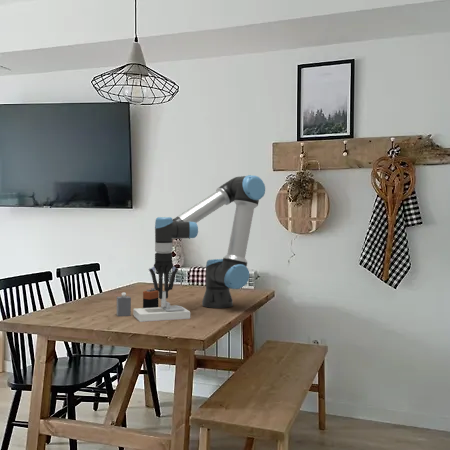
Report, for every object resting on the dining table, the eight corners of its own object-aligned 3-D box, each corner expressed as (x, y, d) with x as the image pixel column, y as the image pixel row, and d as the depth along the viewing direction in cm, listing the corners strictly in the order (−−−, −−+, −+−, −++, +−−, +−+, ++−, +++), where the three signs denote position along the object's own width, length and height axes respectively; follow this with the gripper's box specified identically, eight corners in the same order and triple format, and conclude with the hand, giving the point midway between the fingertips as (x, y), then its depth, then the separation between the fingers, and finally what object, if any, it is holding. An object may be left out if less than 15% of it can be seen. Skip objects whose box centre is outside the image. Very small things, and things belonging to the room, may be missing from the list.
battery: (158, 309, 244) (159, 288, 243) (150, 311, 238) (150, 290, 237) (151, 308, 246) (151, 287, 246) (142, 310, 240) (142, 289, 240)
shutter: (178, 306, 234) (178, 299, 234) (184, 310, 225) (184, 303, 225) (160, 307, 231) (161, 300, 231) (166, 311, 222) (166, 304, 222)
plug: (128, 313, 232) (129, 291, 232) (130, 315, 228) (130, 293, 228) (116, 314, 230) (116, 292, 230) (118, 316, 226) (118, 293, 226)
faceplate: (181, 312, 237) (181, 306, 237) (190, 318, 224) (190, 311, 223) (133, 315, 229) (133, 308, 229) (139, 321, 216) (139, 314, 216)
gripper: (175, 251, 232) (175, 303, 232) (147, 252, 227) (146, 305, 228) (180, 252, 225) (180, 306, 225) (150, 253, 220) (150, 308, 221)
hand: (163, 306), depth 226 cm, fingers closed
